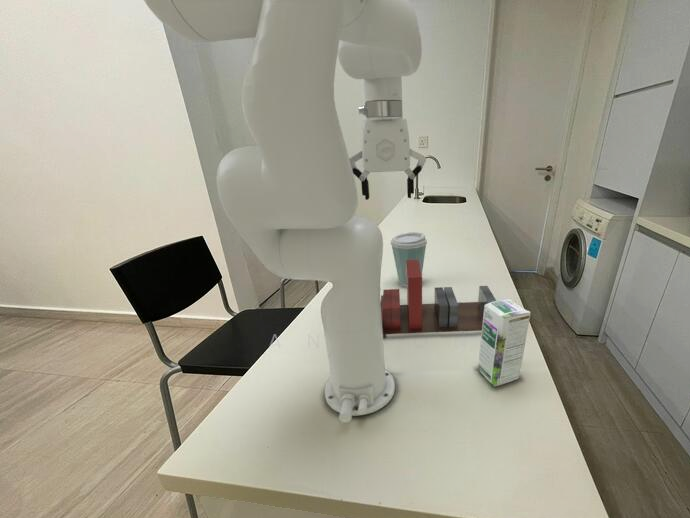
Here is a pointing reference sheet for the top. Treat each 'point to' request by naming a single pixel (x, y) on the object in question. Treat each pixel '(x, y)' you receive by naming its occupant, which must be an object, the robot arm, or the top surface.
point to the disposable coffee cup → (408, 252)
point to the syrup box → (502, 341)
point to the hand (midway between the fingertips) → (388, 197)
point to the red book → (414, 294)
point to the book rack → (435, 312)
